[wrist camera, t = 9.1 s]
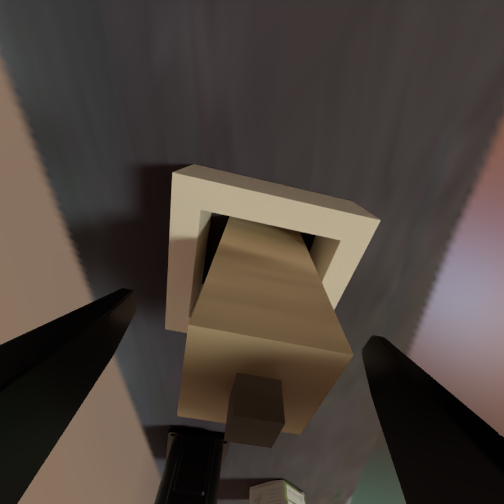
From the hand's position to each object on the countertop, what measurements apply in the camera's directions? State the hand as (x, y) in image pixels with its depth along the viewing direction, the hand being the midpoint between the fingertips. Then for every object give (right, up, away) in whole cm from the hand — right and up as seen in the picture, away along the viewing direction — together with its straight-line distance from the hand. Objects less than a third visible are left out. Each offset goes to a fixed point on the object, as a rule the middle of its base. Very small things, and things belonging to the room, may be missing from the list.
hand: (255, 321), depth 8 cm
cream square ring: (0, +2, +5) cm, 6 cm away
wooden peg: (0, +2, +5) cm, 6 cm away
